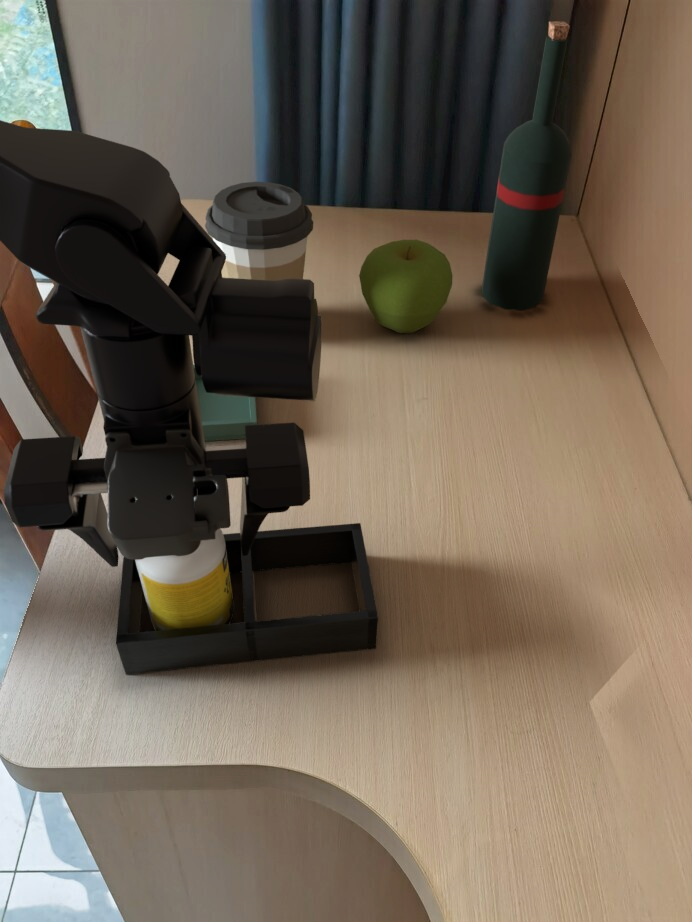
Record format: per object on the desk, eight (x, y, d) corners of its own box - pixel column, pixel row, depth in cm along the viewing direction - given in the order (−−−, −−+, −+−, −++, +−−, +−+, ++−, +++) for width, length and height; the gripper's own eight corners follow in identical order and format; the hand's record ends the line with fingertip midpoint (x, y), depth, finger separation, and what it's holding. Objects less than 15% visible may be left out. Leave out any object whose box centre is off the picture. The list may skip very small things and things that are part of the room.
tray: (152, 444, 78) (148, 428, 76) (156, 382, 85) (153, 366, 83) (258, 437, 79) (257, 422, 78) (253, 377, 86) (252, 361, 85)
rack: (125, 675, 59) (115, 643, 56) (133, 574, 66) (124, 541, 63) (376, 648, 62) (378, 617, 59) (359, 555, 69) (360, 522, 66)
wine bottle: (526, 268, 106) (574, 7, 85) (551, 308, 99) (611, 35, 78) (469, 271, 105) (503, 7, 83) (490, 312, 98) (534, 35, 76)
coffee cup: (335, 328, 94) (336, 202, 83) (260, 366, 87) (251, 236, 77) (271, 290, 99) (264, 168, 88) (196, 324, 93) (179, 197, 82)
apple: (385, 292, 100) (389, 215, 93) (462, 316, 97) (472, 238, 90) (341, 332, 93) (342, 252, 86) (422, 360, 90) (429, 279, 83)
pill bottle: (238, 643, 62) (223, 541, 53) (151, 655, 61) (123, 552, 52) (232, 579, 66) (218, 476, 58) (151, 589, 65) (125, 485, 57)
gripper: (-52, 486, 40) (30, 662, 51) (317, 460, 43) (319, 633, 54) (-12, 359, 48) (52, 536, 59) (299, 344, 51) (305, 516, 62)
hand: (180, 556), depth 58 cm, fingers open, 9 cm apart
